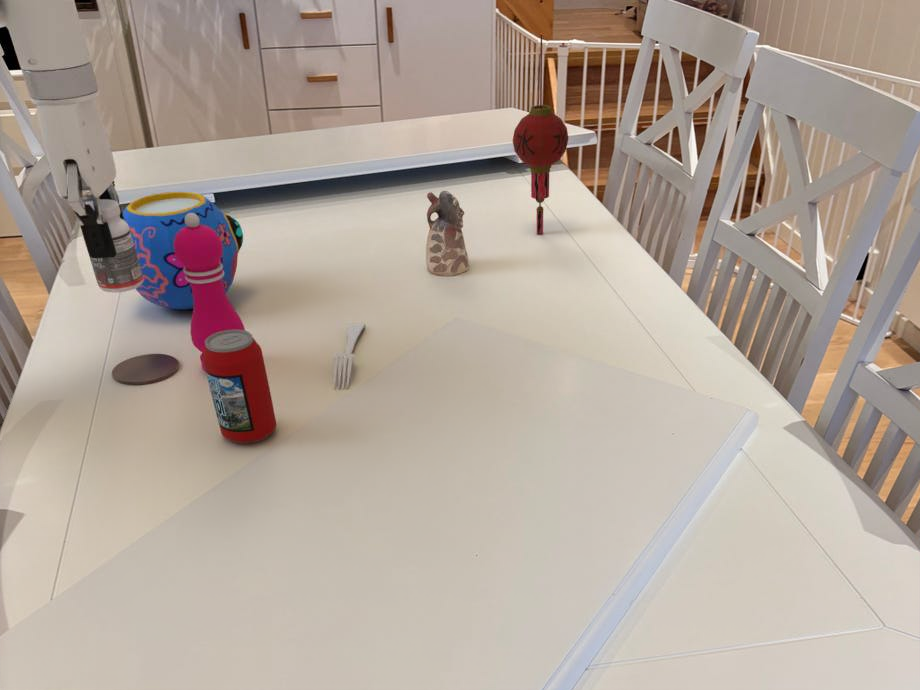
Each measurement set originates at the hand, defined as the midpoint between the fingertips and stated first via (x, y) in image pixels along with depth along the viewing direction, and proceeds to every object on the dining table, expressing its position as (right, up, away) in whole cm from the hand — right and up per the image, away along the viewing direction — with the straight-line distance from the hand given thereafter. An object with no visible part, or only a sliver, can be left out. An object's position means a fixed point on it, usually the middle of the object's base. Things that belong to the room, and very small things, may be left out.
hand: (109, 246), depth 115 cm
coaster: (+1, -12, +11) cm, 17 cm away
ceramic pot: (+1, +3, +29) cm, 29 cm away
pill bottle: (0, -4, +3) cm, 5 cm away
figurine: (+42, +12, +37) cm, 57 cm away
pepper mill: (+12, -12, +11) cm, 20 cm away
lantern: (+58, +23, +48) cm, 79 cm away
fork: (+29, -10, +12) cm, 33 cm away
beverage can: (+19, -25, -4) cm, 31 cm away
